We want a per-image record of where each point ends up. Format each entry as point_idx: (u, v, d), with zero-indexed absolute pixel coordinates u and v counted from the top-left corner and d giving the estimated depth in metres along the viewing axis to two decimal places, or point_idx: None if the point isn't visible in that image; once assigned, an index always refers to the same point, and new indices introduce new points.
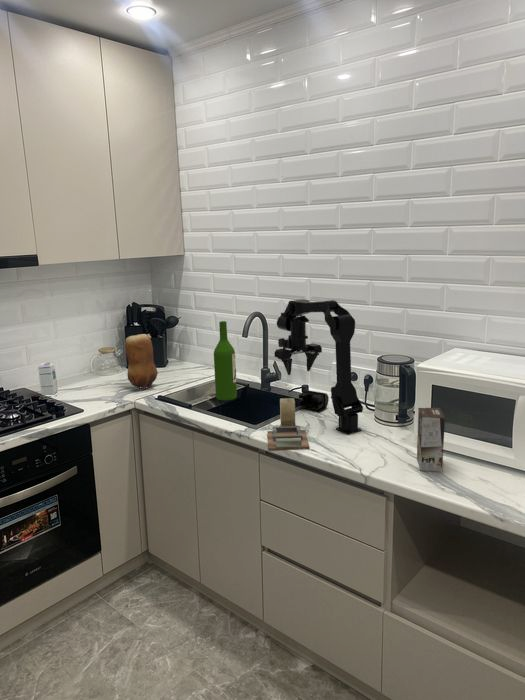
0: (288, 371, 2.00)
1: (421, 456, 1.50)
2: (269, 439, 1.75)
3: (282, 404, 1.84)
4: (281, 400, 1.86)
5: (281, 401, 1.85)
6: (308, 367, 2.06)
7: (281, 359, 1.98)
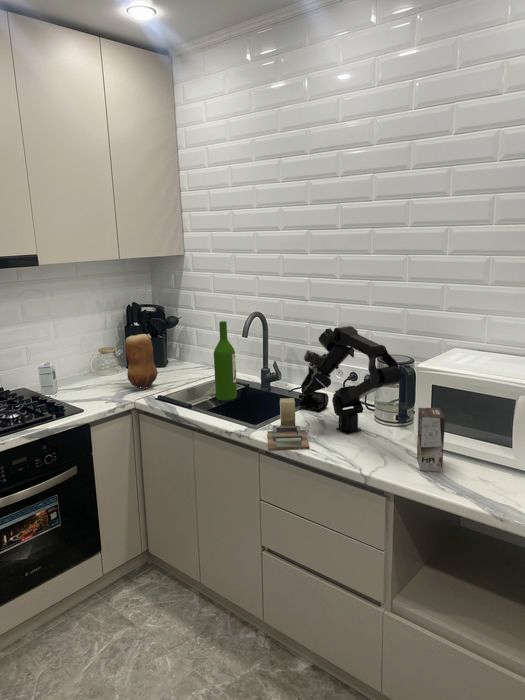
0: (308, 392, 1.80)
1: (421, 456, 1.50)
2: (269, 439, 1.75)
3: (282, 404, 1.84)
4: (281, 400, 1.86)
5: (281, 401, 1.85)
6: (305, 384, 1.90)
7: (319, 383, 1.77)
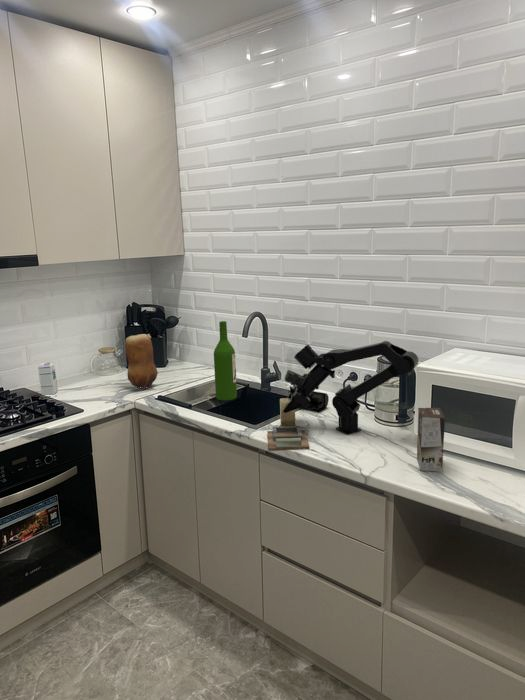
0: (288, 410, 1.83)
1: (421, 456, 1.50)
2: (269, 439, 1.75)
3: (282, 404, 1.84)
4: (281, 400, 1.86)
5: (281, 401, 1.85)
6: None
7: (298, 402, 1.80)
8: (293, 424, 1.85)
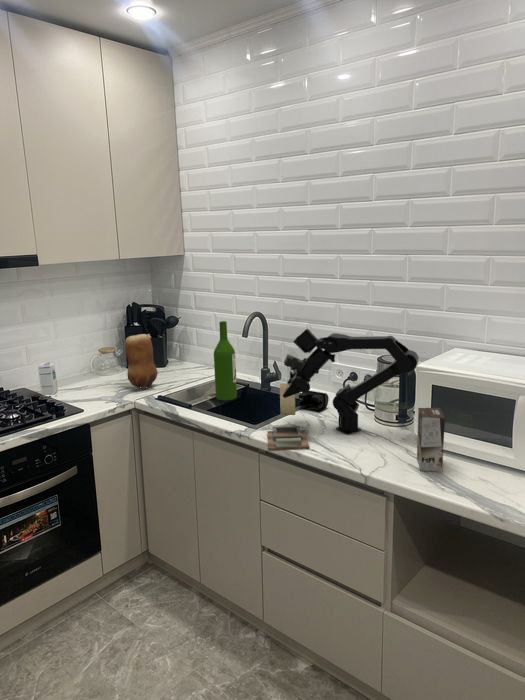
0: (287, 395, 1.81)
1: (421, 456, 1.50)
2: (269, 439, 1.75)
3: (282, 389, 1.82)
4: (281, 385, 1.84)
5: (281, 386, 1.83)
6: None
7: (297, 386, 1.78)
8: (293, 409, 1.83)
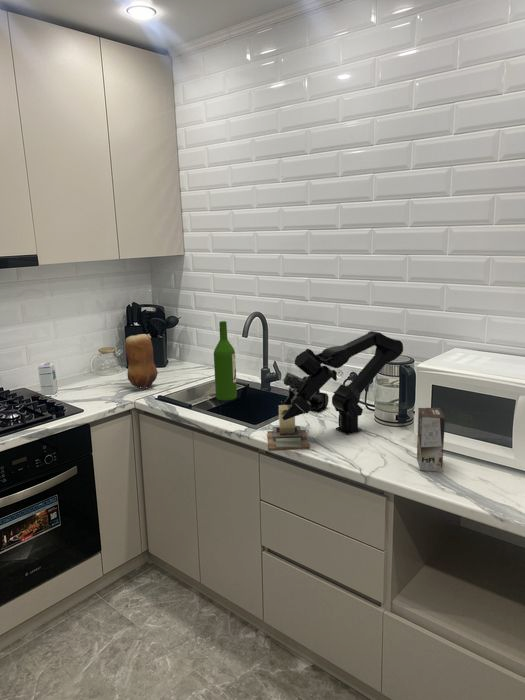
0: (287, 417, 1.71)
1: (421, 456, 1.50)
2: (269, 439, 1.75)
3: (281, 411, 1.74)
4: (280, 407, 1.76)
5: (280, 408, 1.75)
6: None
7: (298, 408, 1.68)
8: (293, 432, 1.76)
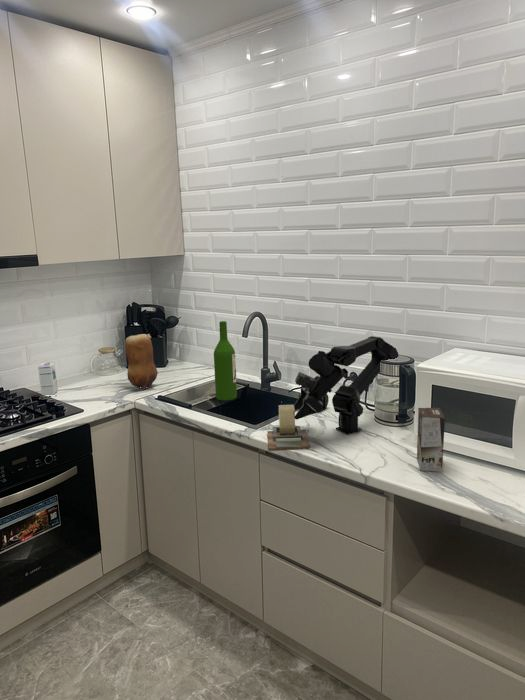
0: (299, 417, 1.72)
1: (421, 456, 1.50)
2: (269, 439, 1.75)
3: (281, 411, 1.74)
4: (280, 407, 1.76)
5: (280, 408, 1.75)
6: (297, 407, 1.81)
7: (310, 408, 1.68)
8: (293, 432, 1.76)
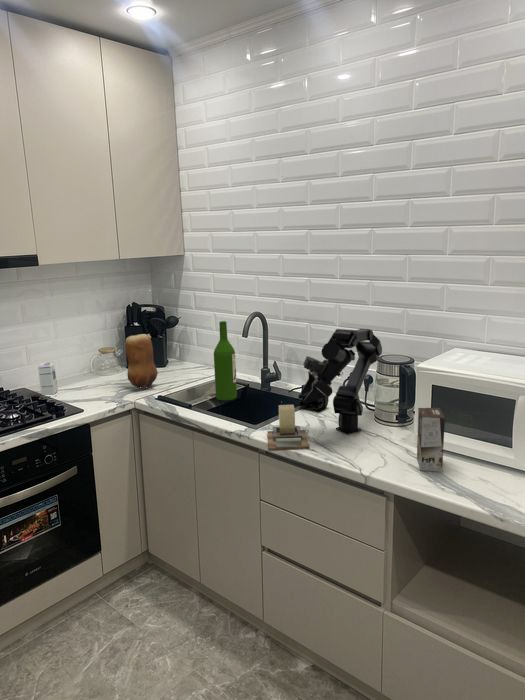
0: (308, 401, 1.71)
1: (421, 456, 1.50)
2: (269, 439, 1.75)
3: (281, 411, 1.74)
4: (280, 407, 1.76)
5: (280, 408, 1.75)
6: (305, 391, 1.80)
7: (319, 392, 1.67)
8: (293, 432, 1.76)
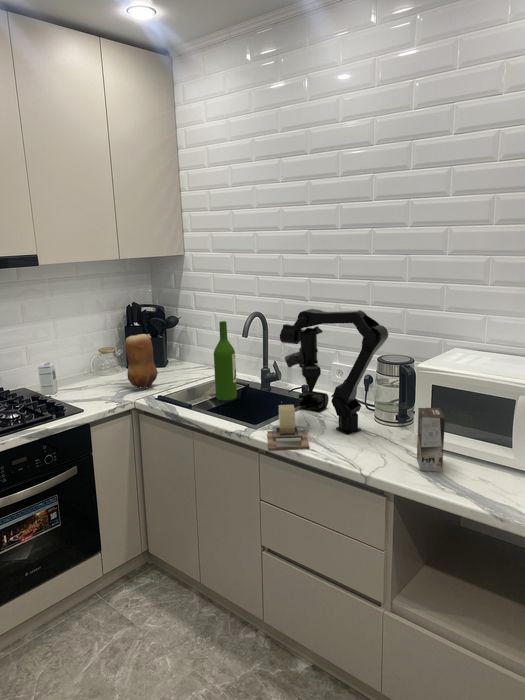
0: (312, 388, 1.84)
1: (421, 456, 1.50)
2: (269, 439, 1.75)
3: (281, 411, 1.74)
4: (280, 407, 1.76)
5: (280, 408, 1.75)
6: None
7: (311, 376, 1.80)
8: (293, 432, 1.76)
